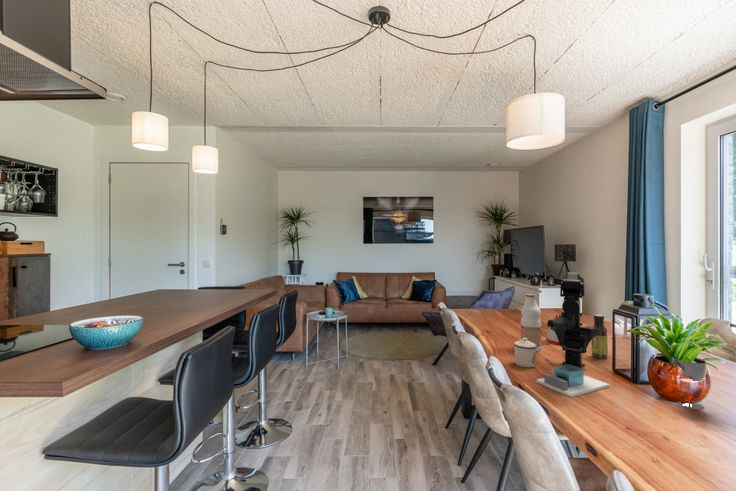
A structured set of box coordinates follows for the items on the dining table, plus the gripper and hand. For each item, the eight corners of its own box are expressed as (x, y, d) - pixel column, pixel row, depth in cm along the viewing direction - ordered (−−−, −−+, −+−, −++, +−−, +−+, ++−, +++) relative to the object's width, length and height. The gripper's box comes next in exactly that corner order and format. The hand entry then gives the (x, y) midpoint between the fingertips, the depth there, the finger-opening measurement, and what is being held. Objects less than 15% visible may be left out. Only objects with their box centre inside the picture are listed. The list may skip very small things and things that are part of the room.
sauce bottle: (594, 353, 160) (593, 313, 160) (609, 357, 155) (609, 315, 155) (589, 356, 156) (589, 314, 156) (605, 360, 151) (604, 317, 151)
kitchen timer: (541, 339, 186) (541, 312, 186) (563, 338, 188) (563, 312, 188) (558, 346, 172) (558, 318, 173) (582, 345, 174) (582, 317, 174)
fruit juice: (529, 352, 163) (529, 296, 163) (517, 346, 172) (516, 293, 172) (545, 350, 165) (545, 295, 165) (532, 345, 174) (532, 292, 174)
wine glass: (700, 412, 103) (700, 364, 104) (668, 401, 111) (668, 357, 111) (710, 406, 107) (710, 360, 107) (679, 396, 114) (678, 353, 114)
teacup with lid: (537, 369, 141) (537, 342, 141) (514, 366, 144) (513, 339, 144) (535, 360, 152) (535, 335, 152) (514, 357, 155) (513, 333, 155)
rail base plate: (573, 373, 135) (573, 364, 135) (609, 386, 123) (609, 376, 123) (536, 382, 127) (536, 371, 127) (571, 397, 114) (571, 385, 114)
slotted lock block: (568, 378, 129) (568, 364, 129) (583, 383, 123) (583, 369, 123) (554, 381, 125) (553, 367, 125) (568, 387, 120) (568, 372, 120)
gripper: (537, 307, 139) (538, 344, 139) (581, 316, 122) (581, 358, 122) (556, 305, 144) (556, 341, 144) (600, 313, 126) (600, 354, 126)
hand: (572, 348), depth 134 cm, fingers open, 9 cm apart
